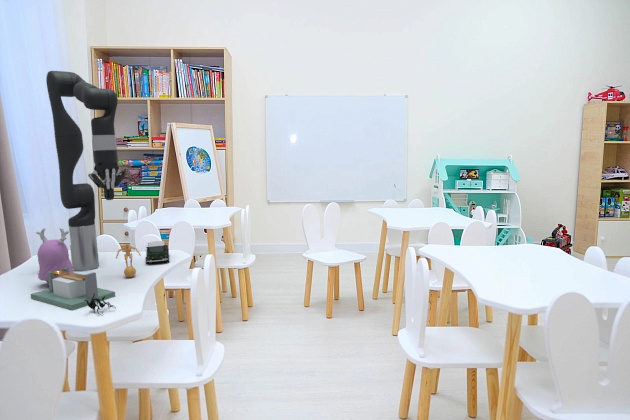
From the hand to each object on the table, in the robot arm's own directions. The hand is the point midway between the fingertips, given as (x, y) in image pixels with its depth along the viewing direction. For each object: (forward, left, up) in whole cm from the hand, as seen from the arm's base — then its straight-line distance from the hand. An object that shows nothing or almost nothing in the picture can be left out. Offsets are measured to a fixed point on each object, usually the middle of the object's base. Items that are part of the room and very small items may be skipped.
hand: (109, 199), depth 161 cm
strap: (+3, -18, -23) cm, 29 cm away
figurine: (-1, +6, -29) cm, 30 cm away
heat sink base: (+3, -18, -29) cm, 34 cm away
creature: (+23, -21, -29) cm, 43 cm away
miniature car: (-12, +28, -29) cm, 42 cm away
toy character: (-16, -12, -29) cm, 35 cm away
